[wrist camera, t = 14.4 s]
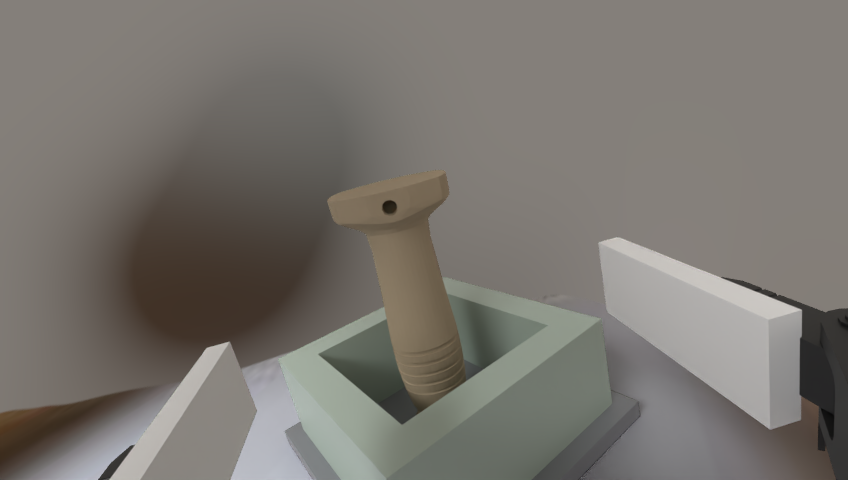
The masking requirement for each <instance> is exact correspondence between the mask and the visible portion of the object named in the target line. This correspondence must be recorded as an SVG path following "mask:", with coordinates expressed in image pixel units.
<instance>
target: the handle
mask: <svg viewBox="0 0 848 480" xmlns="http://www.w3.org/2000/svg"><path fill="white" fill-rule="evenodd" d="M448 195H449V187H448V182H447V177H446V172H445V171H444V170H433V171H427V172H422V173H416V174H411V175H406V176H401V177H397V178H393V179H388V180H384V181H380V182H376V183H372V184H368V185H364V186H361V187H357V188H354V189H350V190H347V191H344V192H341V193H338V194H336V195H333V196H331V197H330V198H328V200H327V201H328V204H329V208H330V211H331V214H332V217H333V220H334V221H335V223H337V224H339V225H341V226H344V227H347V228H351V229H355V230H359V231H361V232H363V233H365V234H366V236H367V239H368V242H369V244H370V246H371V250H372V253H373V257H374V262H375V266H376V271H377V275H378V280H379V284H380V289H381V293H382V298H383V303H384V308H385V313H386V318H387V323H388V328H389V333H390V338H391V343H392V347H393V351H394V355H395V359H396V362H397V365H398V369H399V372H400V374H401V377H402V380H403V382H404V385H405V387H406V390H407V392H408V394H409V396H410V398H411V400H412V402H413V404H414V406H415V407H416V408H417V410H418V411H417V413H416V415H417V414H419V413H420V412H422V411H423V410H425V409H426V408H428V407H429V406H431V405H432V404H434V403H435V402H437V401H438V400H439V399H441V398H442V397H444V396H445V395H447V394H448V393H450V392H451V391H453V390H454V389H456V388H457V387H459V386H460V385H461V384H463V383H464V382H466V373H465V365H464V359H463V351H462V346H461V341H460V337H459V333H458V330H457V325H456V322H455V318H454V315H453V312H452V308H451V305H450V302H449V299H448V295H447V292H446V289H445V286H444V282H443V279H442V276H441V273H440V269H439V265H438V261H437V258H436V254H435V251H434V247H433V244H432V240H431V236H430V230H429V223H428V218H429V216H430V214H431V213H432V212H434V210H436V209H437V208H438V207H439V206H440V205H441V204H442V203H443V202H444V201H445V200H446V198H447V197H448Z"/></svg>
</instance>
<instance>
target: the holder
mask: <svg viewBox="0 0 848 480" xmlns="http://www.w3.org/2000/svg"><path fill="white" fill-rule="evenodd" d="M442 279H443V282H444V286H445V289H446V292H447V295H448V299H449V302H450V305H451V308H452V312H453V315H454V318H455V322H456V325H457V330H458V333H459V337H460V341H461V346H462V351H463V359H464V365H465V373H466V382H464V383H463V384H461V385H460V386H459V387H457V388H456V389H454V390H453V391H451V392H450V393H448V394H447V395H445V396H444V397H442V398H441V399H439V400H438V401H437V402H435V403H434V404H432V405H431V406H429V407H428V408H426V409H425V410H423V411H422V412H420V413H419V414H417V415H416V413H417V411H418V410H417V408H416V407H415V406H414V404H413V402H412V400H411V398H410V396H409V394H408V392H407V390H406V387H405V385H404V382H403V380H402V377H401V374H400V372H399V369H398V365H397V362H396V359H395V355H394V351H393V347H392V343H391V338H390V333H389V328H388V323H387V318H386V313H385V308H384V307H383V308H381V309H378V310H376V311H375V312H373V313H370V314H368V315H366V316H364V317H362V318H360V319H358V320H356V321H354V322H352V323H350V324H348V325H346V326H344V327H342V328H340V329H338V330H336V331H334V332H332V333H330V334H328V335H326V336H324V337H322V338H320V339H318V340H316V341H314V342H312V343H309V344H307V345H305V346H303V347H302V348H299V349H297V350H295V351H293V352H291V353H289V354H287V355H285V356H283V357H281V358H279V359H278V361H279V364H280V367H281V369H282V372H283V375H284V378H285V380H286V383H287V386H288V389H289V391H290V394H291V397H292V400H293V402H294V405H295V408H296V411H297V413H298V416H299V419H300V422H299V423H297V424H296V425H294V426H292V427H291V428H289V429H287V430H286V431H285V433H286V436H287V439H288V441H289V444H290V445H291V447H292V448H293V450H294V451H295V453H296V454H297V456H298V457H299V459H300V460H301V462H302V463H303V465H304V466H305V468H306V470H307V471H308V473H309V474H310V476H311V477H312V479H313V480H578V479H579V478H580V477H581V476H582V475H583V474H584V473H585V472H586V471H587V470H588V469H589V468H590V467H591V466H592V465H593V464H594V463H595V462H596V461H597V460H598V459H599V458H600V457H601V456H602V455H603V454H604V453H605V451H606V450H607V449H608V448H609V447H610V446H611V445H612V444H613V443H614V442H615V441H616V440H617V439H618V438H619V437H620V436H621V435H622V434H623V433H624V432H625V431H626V430H627V429H628V428H629V427H630V426H631V425H632V424H633V423H634V422H635V420H636V419H637V418H638V417H639V416H640V411H639V401H637V400H634V399H632V398H629V397H627V396H624V395H622V394H620V393H617V392H615V391H612V390H611V389H610V381H609V374H608V366H607V358H606V350H605V343H604V335H603V327H602V319H601V318H597V317H593V316H589V315H586V314H582V313H578V312H574V311H570V310H567V309H563V308H559V307H555V306H552V305H548V304H544V303H540V302H537V301H533V300H529V299H525V298H521V297H518V296H514V295H510V294H507V293H503V292H499V291H495V290H491V289H488V288H484V287H480V286H476V285H473V284H469V283H465V282H461V281H458V280H454V279H450V278H446V277H444V278H442Z"/></svg>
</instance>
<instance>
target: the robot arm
mask: <svg viewBox="0 0 848 480" xmlns="http://www.w3.org/2000/svg"><path fill="white" fill-rule="evenodd" d="M598 246H599V253H600V262H601V269H602V276H603V286H604V294H605V302H606V310H607V312H608V313H609V314H611V315H612V316H614V317H615V318H616V319H618V320H619V321H620V322H622V323H623V324H625V325H626V326H627V327H629V328H630V329H632V330H633V331H634V332H636V333H637V334H638V335H640V336H641V337H643V338H644V339H645V340H647V341H648V342H650V343H651V344H652V345H654V346H655V347H656V348H658V349H659V350H661V351H662V352H663V353H665V354H666V355H667V356H669V357H670V358H672V359H673V360H674V361H676V362H677V363H679V364H680V365H681V366H683V367H684V368H685V369H687V370H688V371H690V372H691V373H692V374H694V375H695V376H697V377H698V378H699V379H701V380H702V381H703V382H705V383H706V384H708V385H709V386H710V387H712V388H713V389H715V390H716V391H717V392H719V393H720V394H721V395H723V396H724V397H726V398H727V399H728V400H730V401H731V402H733V403H734V404H735V405H737V406H738V407H739V408H741V409H742V410H744V411H745V412H746V413H748V414H749V415H751V416H752V417H753V418H755V419H756V420H757V421H759V422H760V423H762V424H763V425H764V426H766V427H767V428H769V429H770V430H771V429H774V428H777V427H780V426H784V425H787V424H790V423H793V422H796V421H799V420H801V396H802V397H804V398H806V399H807V400H809V401H811V402H812V403H814V404H816V405H817V406H819V424H818V450H822V451H825V447H827V451H828V454H829V457H830V460H831V464H832V467H833V470H834V474H835V477H836V480H848V309H836V310H832V311H828V312H823V311H820V310H818V309H815V308H813V307H810V306H807V305H804V304H802V303H799V302H797V301H794V300H791V299H789V298H786V297H784V296H781V295H778V296H777V295H776V293H773V292H771V291H768V290H762V289H761V288H760V287H757V286H755V285H752V284H750V283H747V282H744V281H740V280H734V279H729V278H724V277H721V278H720V277H718V276H715V275H713V274H710V273H707V272H705V271H702V270H700V269H697V268H695V267H692V266H690V265H687V264H685V263H682V262H680V261H677V260H675V259H672V258H670V257H667V256H665V255H662V254H660V253H657V252H655V251H652V250H650V249H647V248H645V247H642V246H639V245H637V244H634V243H632V242H630V241H627V240H624V239H622V238H619V237H617V238H613V239H609V240H605V241H601V242H598ZM256 412H257V409H256V407H255V404H254V402H253V399H252V397H251V394H250V391H249V389H248V386H247V384H246V381H245V379H244V376H243V374H242V371H241V369H240V366H239V364H238V361H237V358H236V356H235V353H234V351H233V348H232V346H231V343H230V342H227V343H223V344H219V345H216V346H212V347H208V348H206V350H205V351H204V352H203V354H202V355H201V356H200V358H199V359H198V361H197V362H196V363H195V365H194V366H193V367H192V369H191V370H190V371H189V373H188V374H187V376H186V377H185V378H184V379H183V381H182V382H181V384H180V385H179V386H178V388H177V389H176V390H175V392H174V393H173V394H172V396H171V397H170V398H169V400H168V401H167V402H166V404H165V405H164V406H163V408H162V409H161V411H160V412H159V413H158V415H157V416H156V417H155V419H154V420H153V421H152V423H151V424H150V425H149V427H148V428H147V429H146V431H145V432H144V434H143V435H142V436H141V438H140V439H139V440H138V442H137V443H136V444H135V445H132V446H130V447H129V448H128V449H126V450H125V451H124V452H123V453H122V454H121V455H119V456H118V457H117V458H116V459H115V460H114V461H113V462H111V464H110V465H109V466H108V467H107V469H106V470H105V471H104V473H103V474H102V475H101V477H100V478H99V479H98V480H230V479H231V476H232V474H233V471H234V469H235V466H236V464H237V461H238V458H239V456H240V453H241V451H242V448H243V445H244V443H245V440H246V438H247V435H248V433H249V430H250V427H251V425H252V422H253V420H254V417H255V415H256Z"/></svg>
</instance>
